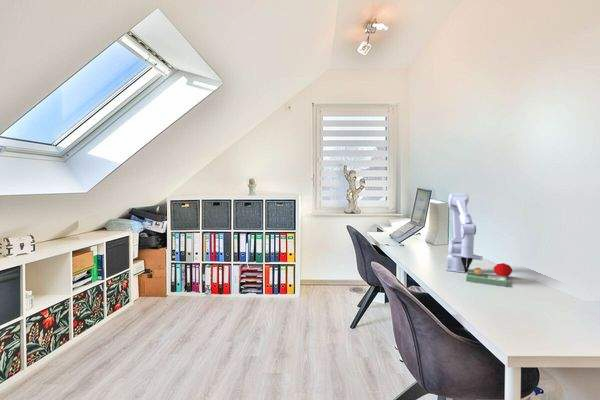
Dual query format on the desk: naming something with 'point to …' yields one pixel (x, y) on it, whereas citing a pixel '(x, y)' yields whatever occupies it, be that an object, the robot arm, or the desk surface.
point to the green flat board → (487, 279)
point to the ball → (478, 271)
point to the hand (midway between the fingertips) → (466, 272)
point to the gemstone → (503, 269)
